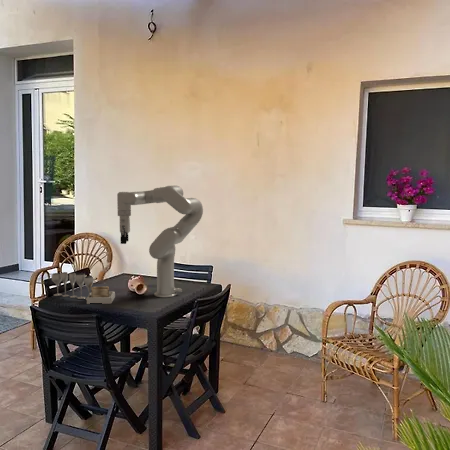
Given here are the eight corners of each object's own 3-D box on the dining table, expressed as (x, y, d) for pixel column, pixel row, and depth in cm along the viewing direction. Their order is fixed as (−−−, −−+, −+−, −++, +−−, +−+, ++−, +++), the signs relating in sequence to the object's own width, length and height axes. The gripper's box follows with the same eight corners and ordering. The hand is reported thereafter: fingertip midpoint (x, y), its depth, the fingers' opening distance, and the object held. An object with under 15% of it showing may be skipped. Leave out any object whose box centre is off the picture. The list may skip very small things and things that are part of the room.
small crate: (108, 297, 249) (108, 286, 248) (108, 300, 243) (109, 289, 242) (91, 297, 246) (91, 286, 246) (91, 301, 240) (91, 290, 239)
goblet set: (96, 298, 248) (95, 274, 247) (89, 300, 243) (88, 276, 241) (57, 293, 260) (56, 270, 258) (50, 295, 255) (48, 272, 253)
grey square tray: (114, 297, 252) (114, 291, 252) (111, 303, 240) (111, 297, 240) (91, 297, 251) (91, 291, 251) (86, 303, 239) (86, 297, 238)
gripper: (129, 214, 255) (129, 244, 257) (132, 212, 272) (132, 240, 274) (115, 214, 255) (115, 244, 256) (119, 212, 272) (120, 240, 273)
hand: (124, 242), depth 265 cm, fingers open, 9 cm apart
